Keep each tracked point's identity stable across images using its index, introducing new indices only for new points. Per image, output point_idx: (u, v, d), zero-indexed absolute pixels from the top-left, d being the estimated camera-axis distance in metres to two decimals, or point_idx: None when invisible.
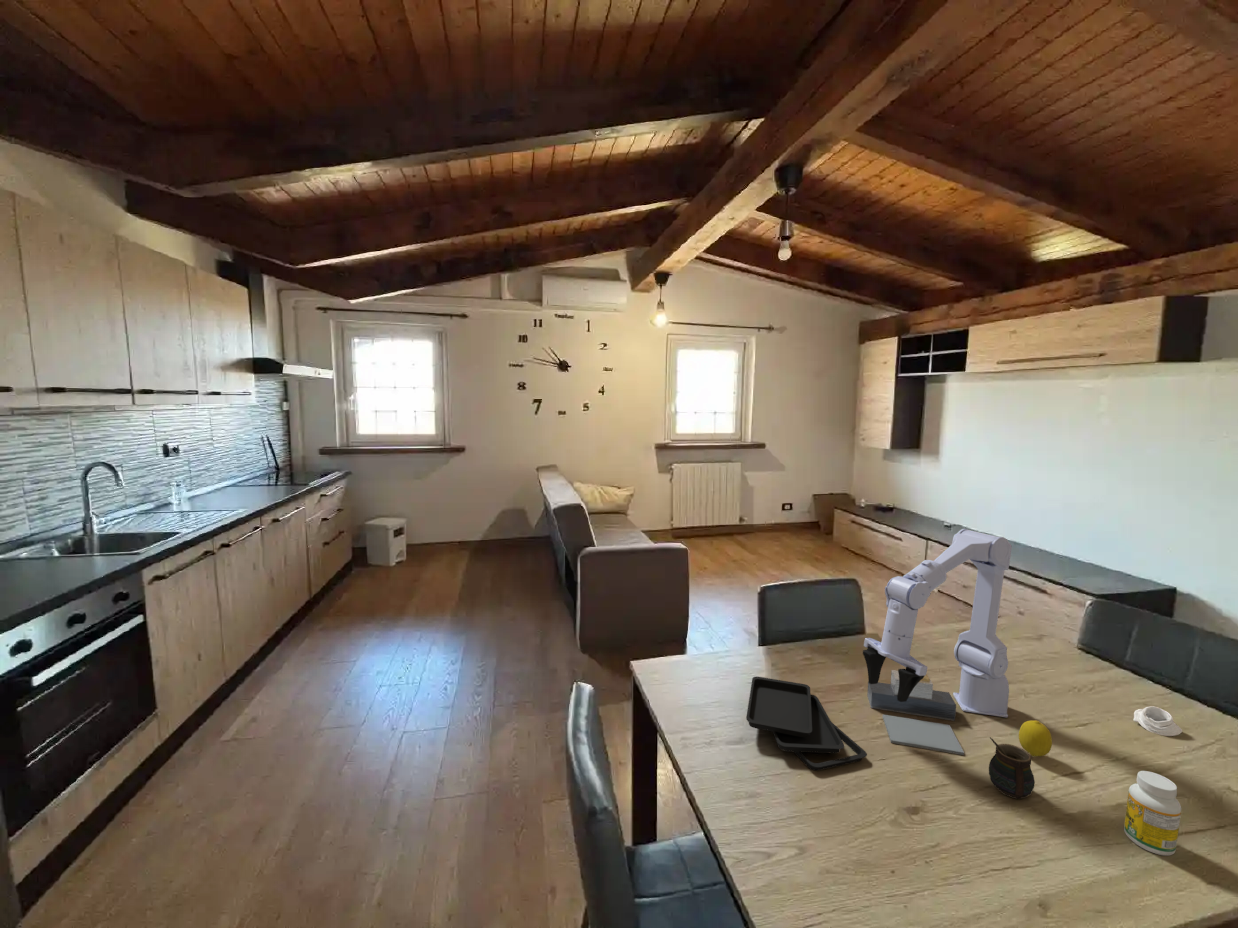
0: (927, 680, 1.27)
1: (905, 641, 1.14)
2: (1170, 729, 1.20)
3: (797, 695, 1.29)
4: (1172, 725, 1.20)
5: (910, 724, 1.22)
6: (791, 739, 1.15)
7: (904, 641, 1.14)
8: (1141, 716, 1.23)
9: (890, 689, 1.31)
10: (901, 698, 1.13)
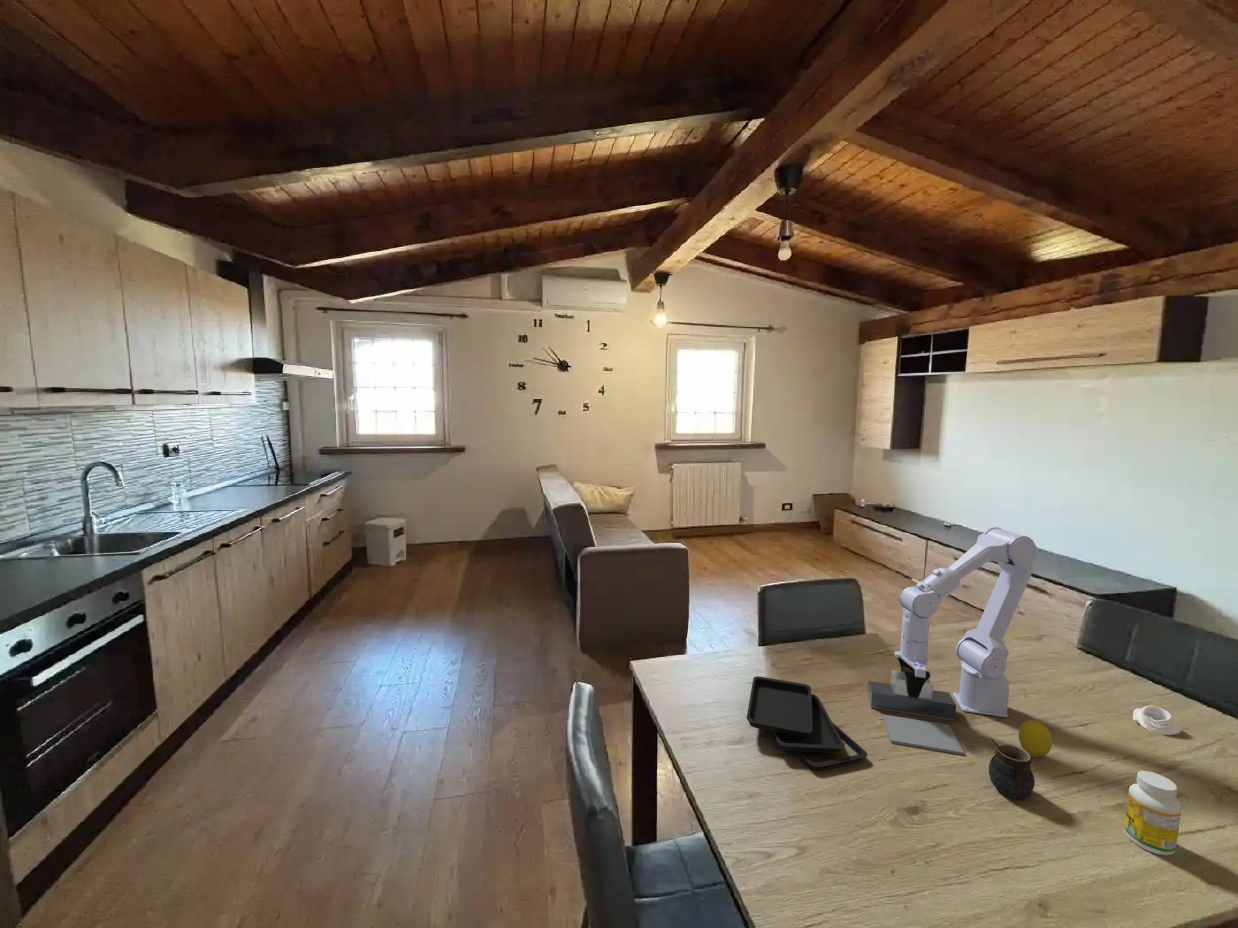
0: (927, 680, 1.27)
1: (913, 645, 1.25)
2: (1169, 727, 1.20)
3: (798, 694, 1.29)
4: (1171, 724, 1.20)
5: (910, 724, 1.22)
6: (792, 739, 1.15)
7: (912, 645, 1.26)
8: (1140, 715, 1.23)
9: (890, 689, 1.31)
10: (909, 693, 1.26)
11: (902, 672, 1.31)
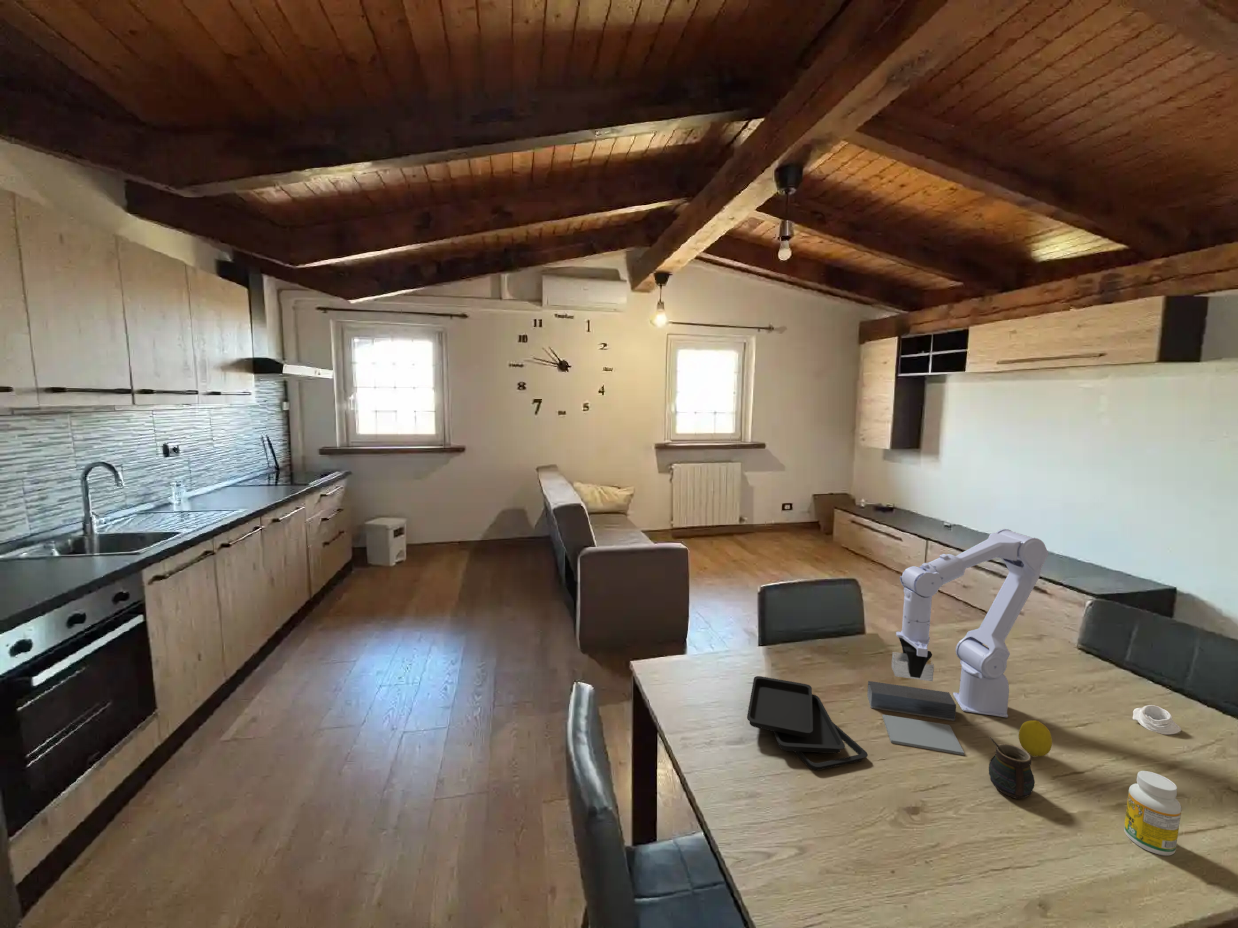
0: (928, 661, 1.26)
1: (914, 625, 1.25)
2: (1169, 727, 1.20)
3: (799, 694, 1.29)
4: (1171, 724, 1.20)
5: (910, 724, 1.22)
6: (792, 739, 1.15)
7: (913, 625, 1.25)
8: (1140, 715, 1.24)
9: (890, 689, 1.31)
10: (911, 673, 1.26)
11: (903, 654, 1.30)
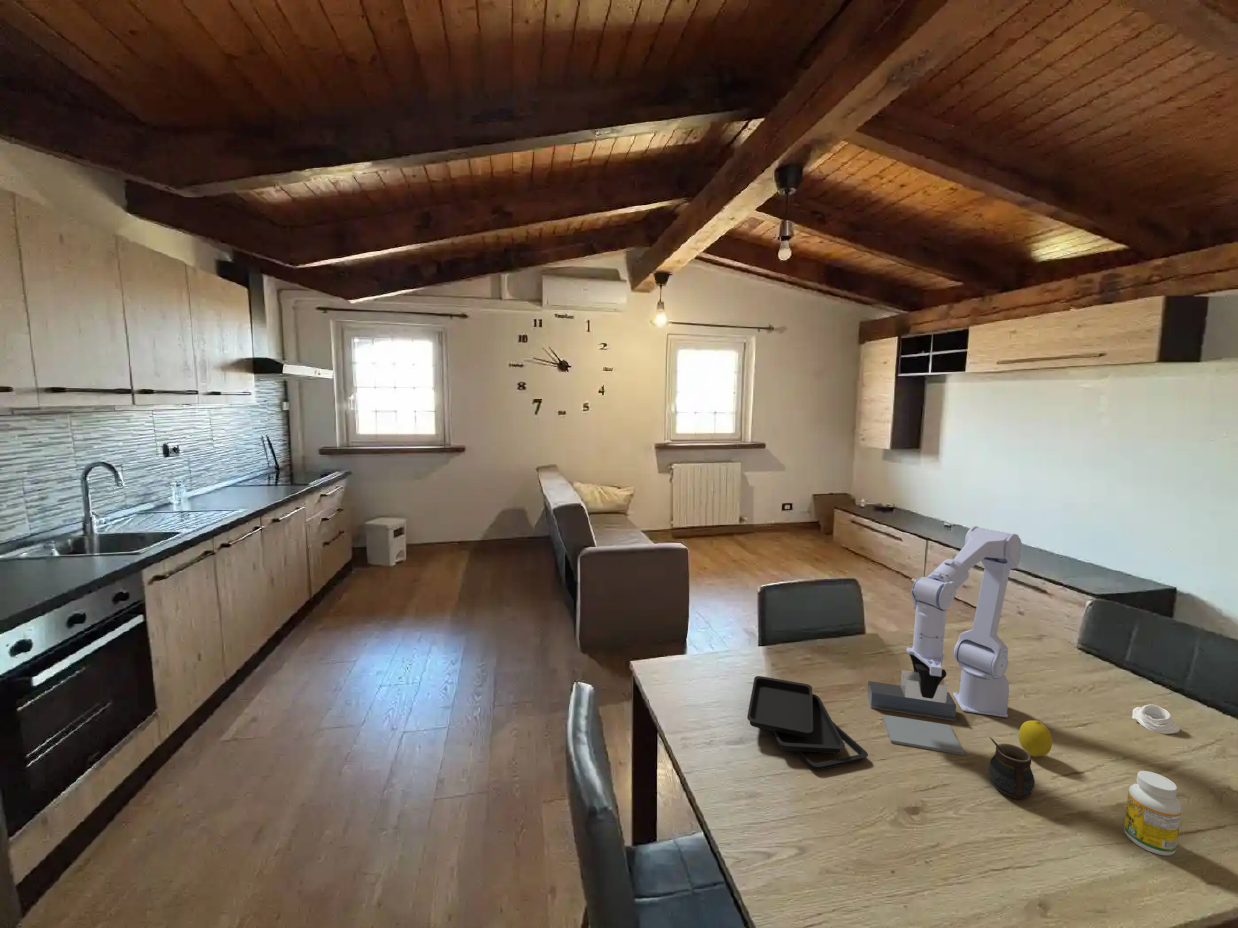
0: (941, 681, 1.16)
1: (927, 641, 1.14)
2: (1168, 726, 1.20)
3: (799, 694, 1.29)
4: (1170, 723, 1.21)
5: (910, 724, 1.22)
6: (792, 739, 1.15)
7: (926, 641, 1.14)
8: (1140, 714, 1.24)
9: (890, 689, 1.31)
10: (923, 694, 1.15)
11: (913, 672, 1.20)
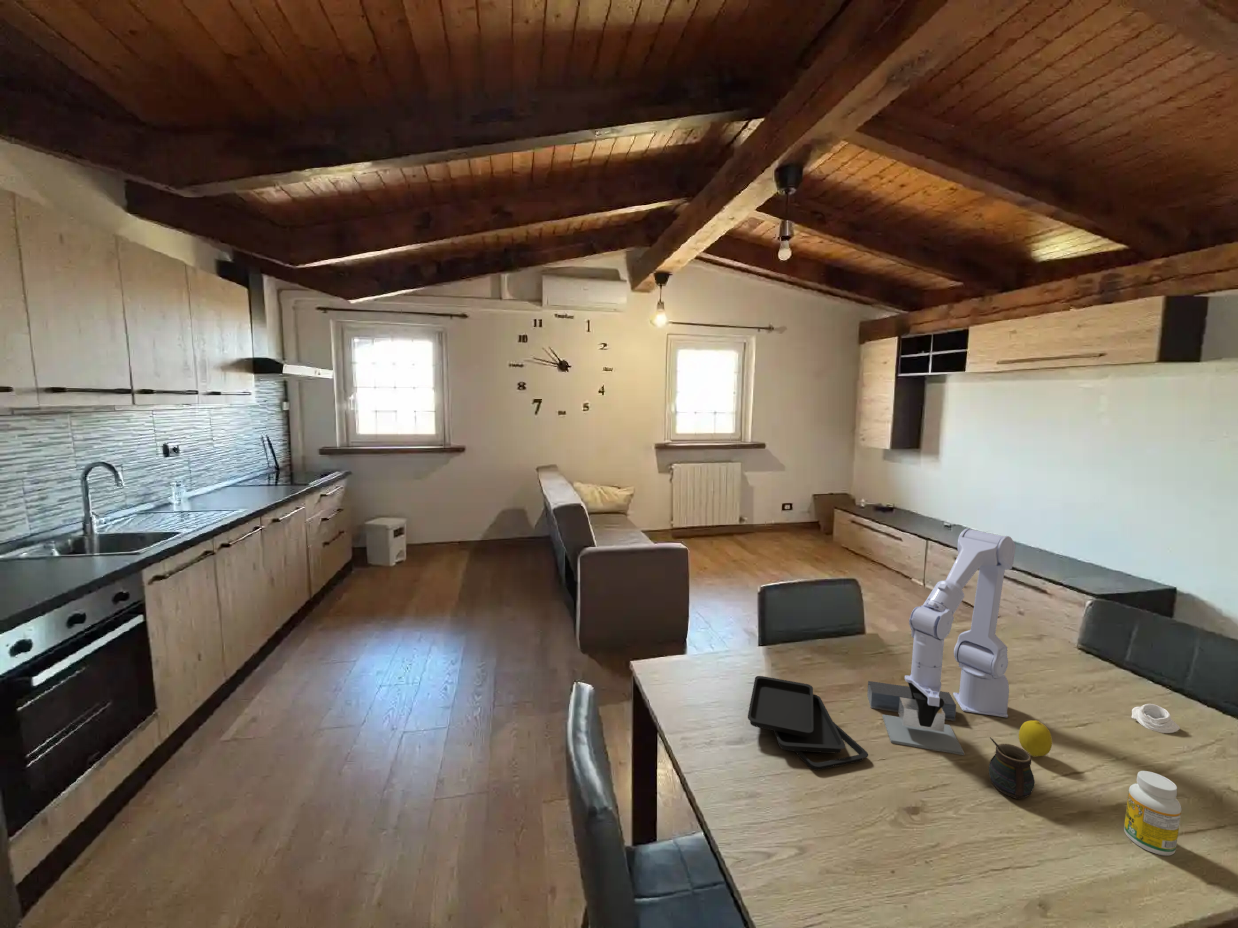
0: (939, 710, 1.16)
1: (925, 670, 1.15)
2: (1167, 726, 1.21)
3: (800, 694, 1.29)
4: (1170, 722, 1.21)
5: None
6: (792, 739, 1.15)
7: (924, 670, 1.15)
8: (1139, 713, 1.24)
9: (890, 689, 1.31)
10: (921, 722, 1.16)
11: (911, 700, 1.21)
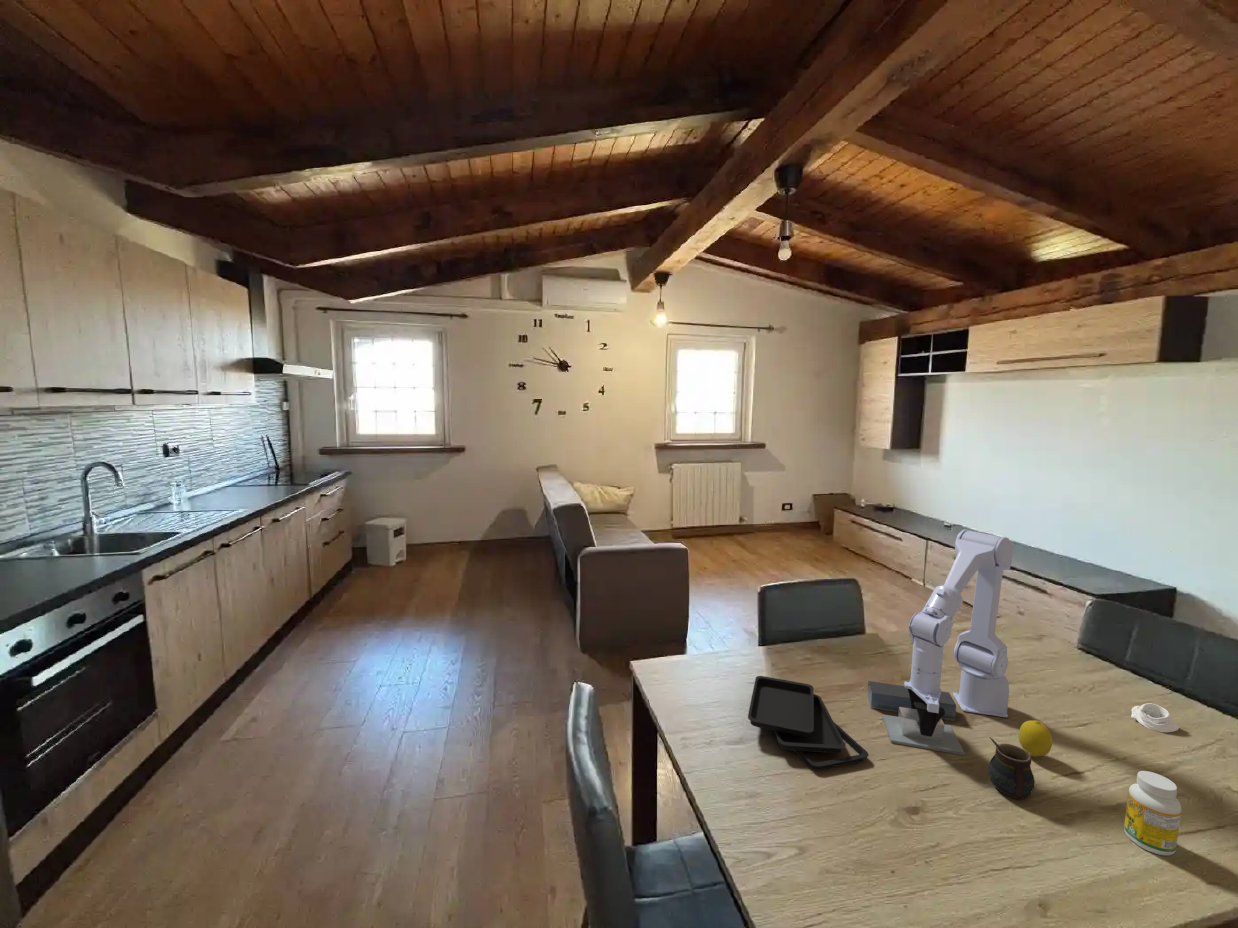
0: None
1: (924, 676, 1.15)
2: (1167, 725, 1.21)
3: (801, 694, 1.29)
4: (1169, 722, 1.21)
5: None
6: (793, 739, 1.15)
7: (923, 676, 1.15)
8: (1139, 713, 1.24)
9: (890, 689, 1.31)
10: (922, 731, 1.15)
11: (910, 710, 1.21)
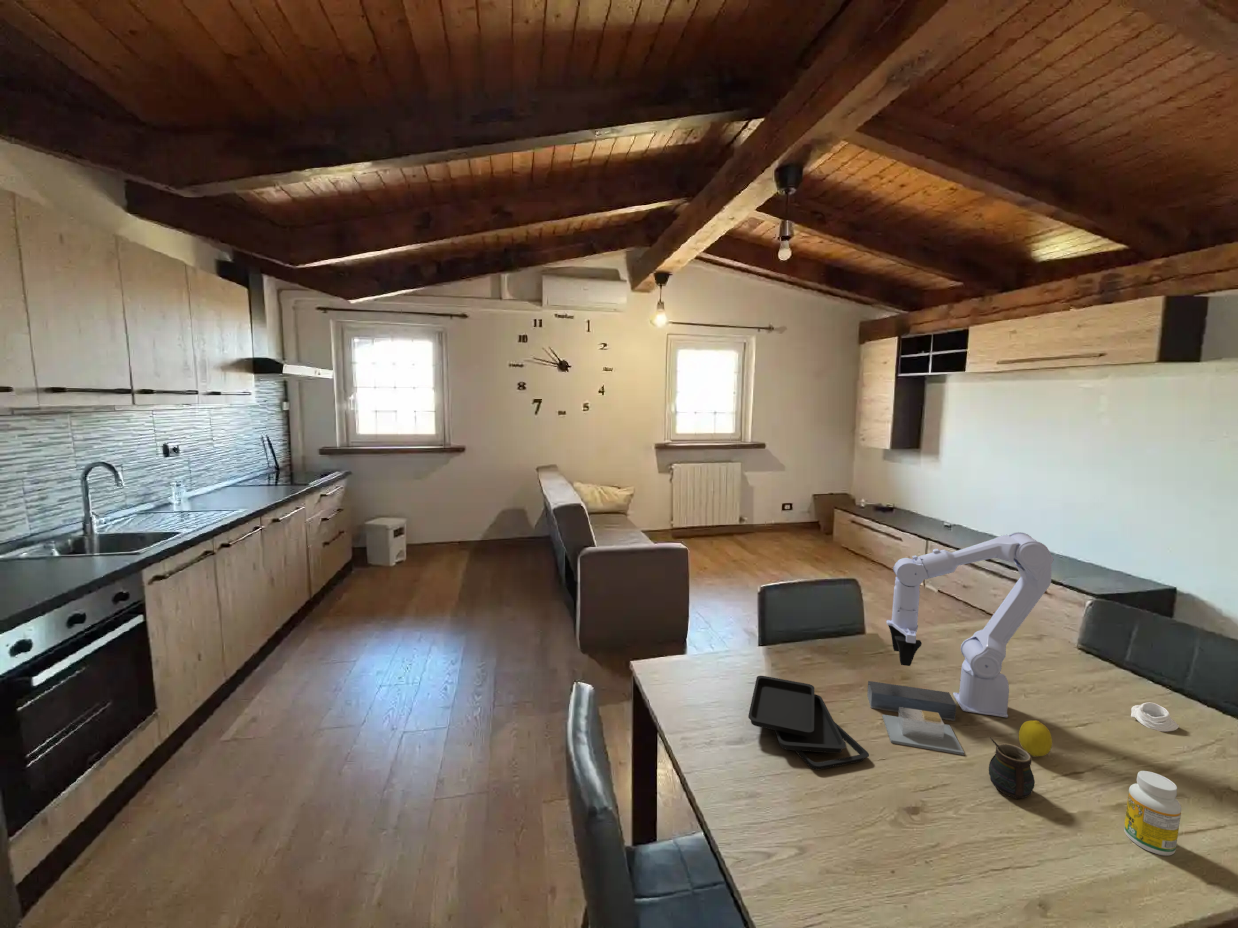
0: (938, 720, 1.17)
1: (904, 613, 1.32)
2: (1166, 724, 1.21)
3: (801, 694, 1.29)
4: (1169, 721, 1.21)
5: None
6: (793, 738, 1.15)
7: (903, 613, 1.32)
8: (1138, 712, 1.25)
9: (890, 689, 1.31)
10: (902, 662, 1.31)
11: (910, 710, 1.21)
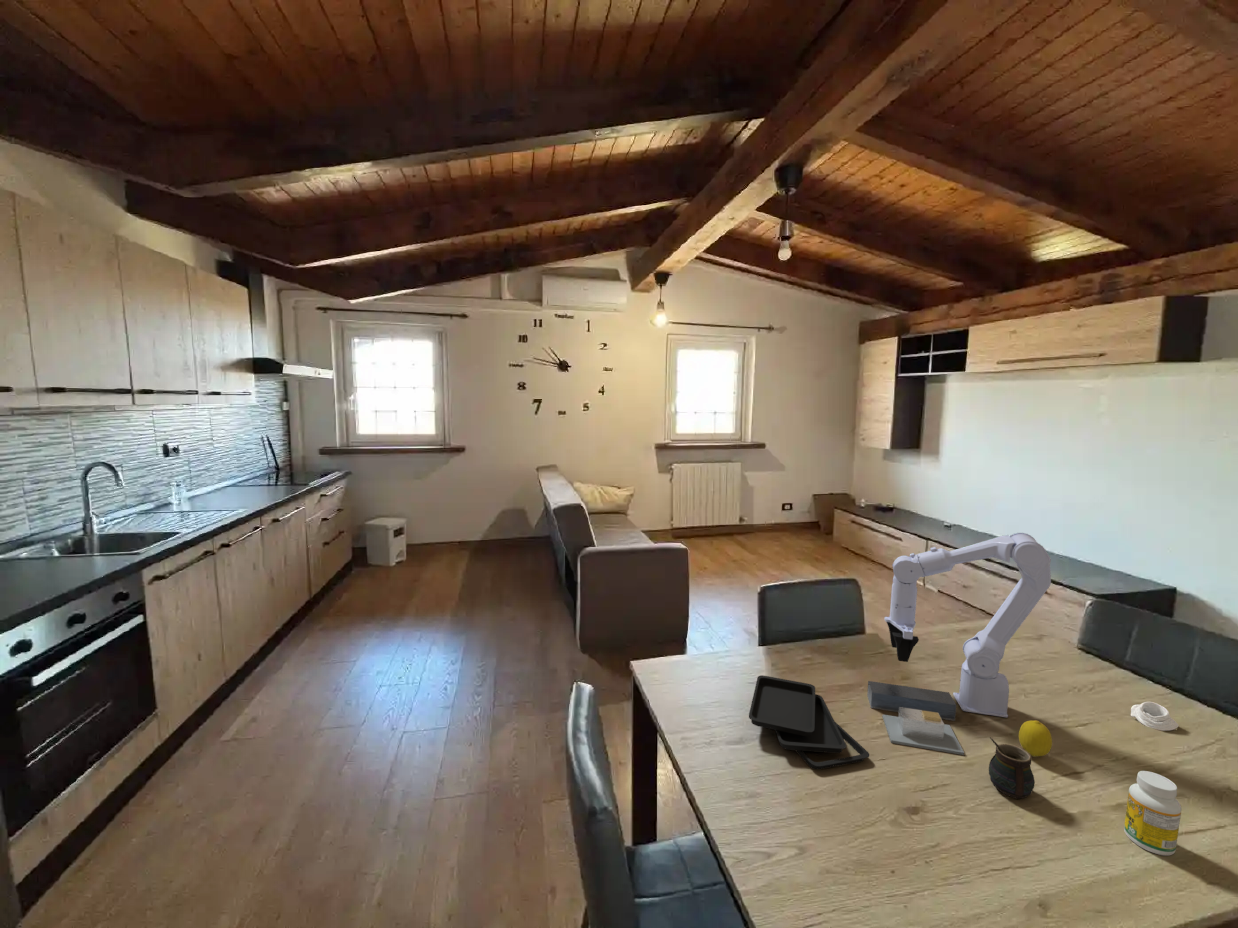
0: (938, 720, 1.17)
1: (901, 610, 1.34)
2: (1166, 723, 1.21)
3: (802, 694, 1.29)
4: (1169, 720, 1.22)
5: None
6: (794, 738, 1.15)
7: (900, 610, 1.34)
8: (1138, 711, 1.25)
9: (890, 689, 1.31)
10: (899, 658, 1.34)
11: (910, 710, 1.21)
